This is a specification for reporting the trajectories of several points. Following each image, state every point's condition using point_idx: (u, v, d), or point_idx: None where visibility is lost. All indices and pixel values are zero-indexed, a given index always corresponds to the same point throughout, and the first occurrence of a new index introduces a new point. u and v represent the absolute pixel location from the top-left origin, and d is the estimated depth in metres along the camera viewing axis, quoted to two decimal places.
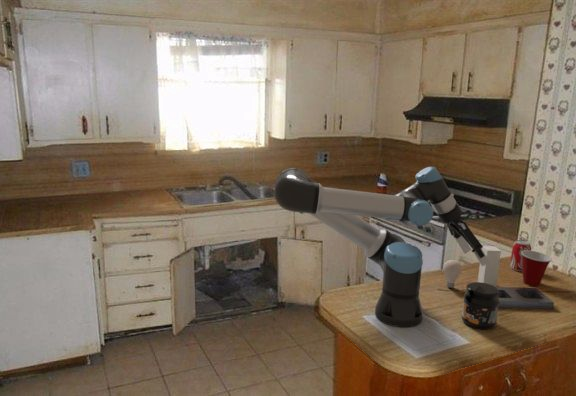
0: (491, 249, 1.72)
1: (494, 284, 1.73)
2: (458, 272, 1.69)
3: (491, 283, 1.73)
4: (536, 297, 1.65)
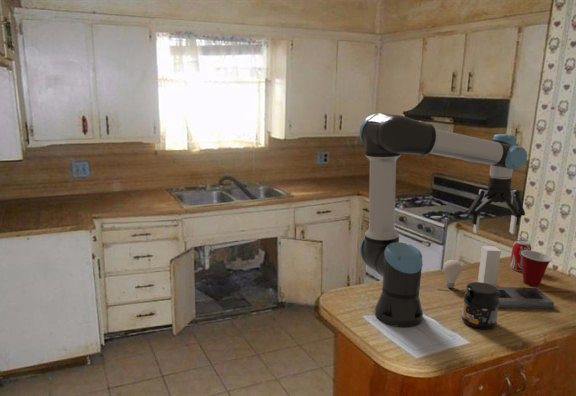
0: (491, 249, 1.72)
1: (494, 284, 1.73)
2: (458, 272, 1.69)
3: (491, 283, 1.73)
4: (536, 297, 1.65)
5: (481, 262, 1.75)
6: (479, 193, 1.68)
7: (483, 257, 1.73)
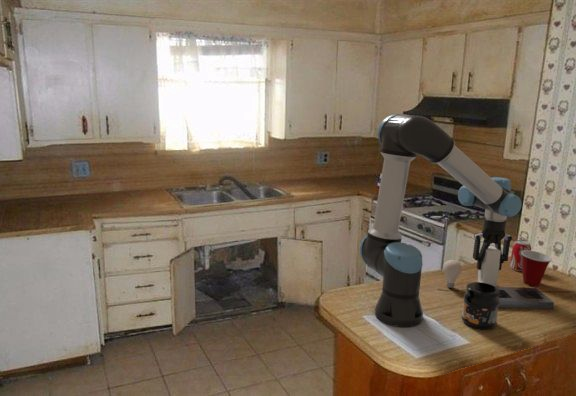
0: (491, 249, 1.72)
1: (494, 284, 1.73)
2: (458, 272, 1.69)
3: (491, 283, 1.73)
4: (536, 297, 1.65)
5: None
6: (475, 238, 1.72)
7: None
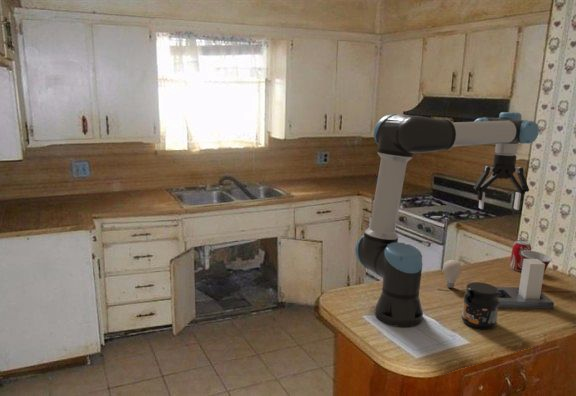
0: (534, 262, 1.59)
1: None
2: (458, 272, 1.69)
3: None
4: None
5: (522, 276, 1.63)
6: (485, 169, 1.73)
7: (526, 270, 1.61)
